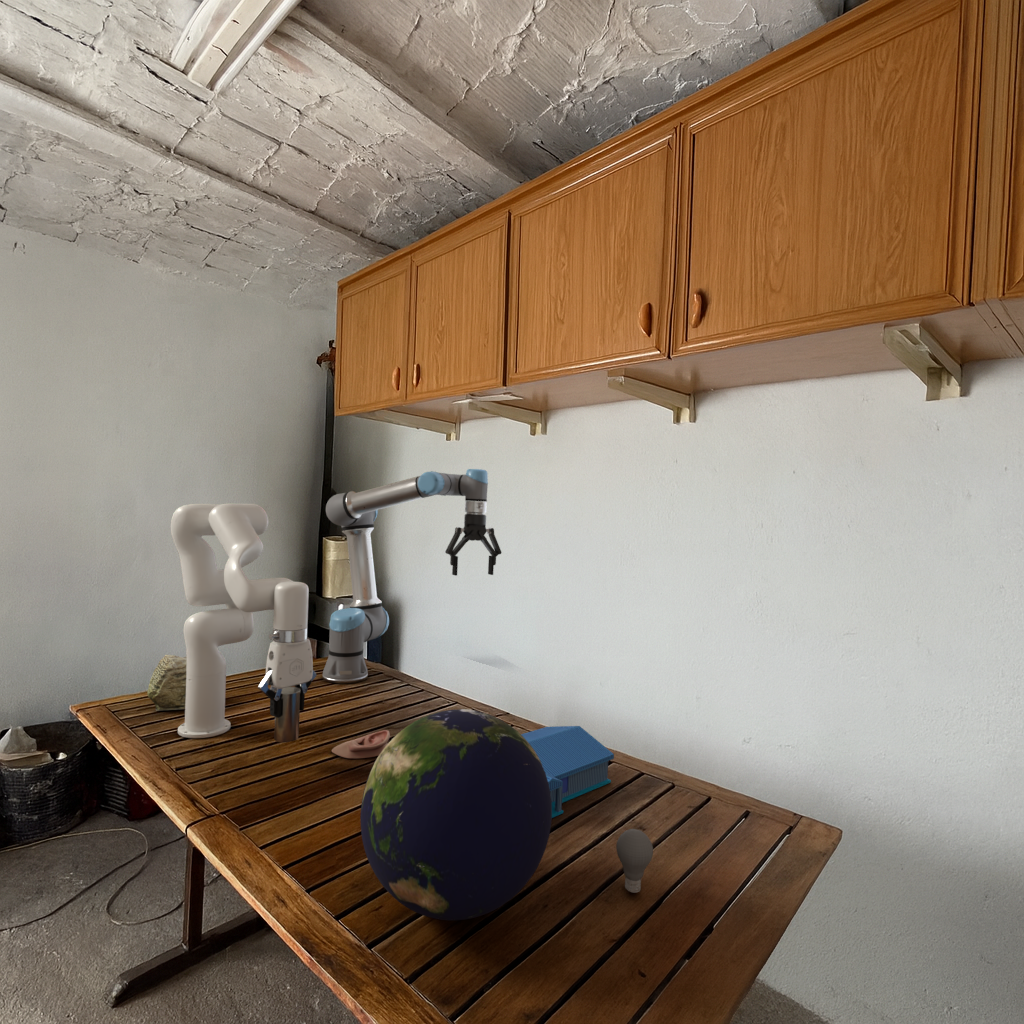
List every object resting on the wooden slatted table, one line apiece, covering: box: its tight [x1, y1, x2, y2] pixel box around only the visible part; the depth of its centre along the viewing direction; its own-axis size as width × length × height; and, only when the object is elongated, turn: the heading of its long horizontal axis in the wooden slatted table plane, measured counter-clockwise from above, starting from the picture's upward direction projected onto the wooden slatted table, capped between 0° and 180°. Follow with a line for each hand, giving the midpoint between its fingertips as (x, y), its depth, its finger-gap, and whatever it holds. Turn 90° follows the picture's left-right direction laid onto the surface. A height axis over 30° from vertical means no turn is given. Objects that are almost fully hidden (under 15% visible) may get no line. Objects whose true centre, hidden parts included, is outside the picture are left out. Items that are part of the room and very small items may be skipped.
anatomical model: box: [331, 729, 391, 759], centre depth 159 cm, size 13×4×12 cm
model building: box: [520, 725, 615, 819], centre depth 140 cm, size 39×24×10 cm, turn 132°
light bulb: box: [615, 828, 654, 894], centre depth 106 cm, size 6×6×10 cm
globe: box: [360, 708, 553, 922], centre depth 100 cm, size 30×30×30 cm
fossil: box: [147, 654, 187, 712], centre depth 185 cm, size 9×18×15 cm, turn 132°
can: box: [273, 686, 301, 743], centre depth 147 cm, size 5×5×11 cm
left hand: (287, 712), depth 148 cm, fingers closed on can, 5 cm apart
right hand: (472, 574), depth 220 cm, fingers open, 13 cm apart
